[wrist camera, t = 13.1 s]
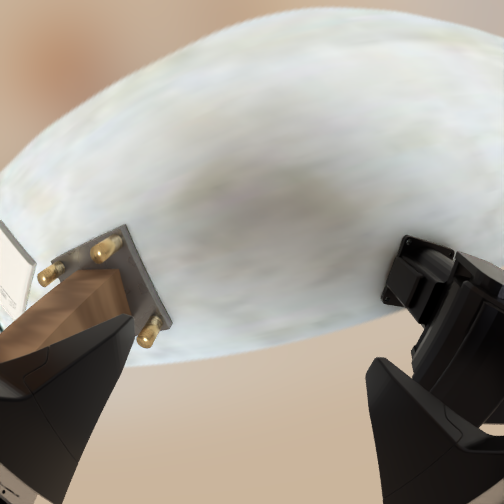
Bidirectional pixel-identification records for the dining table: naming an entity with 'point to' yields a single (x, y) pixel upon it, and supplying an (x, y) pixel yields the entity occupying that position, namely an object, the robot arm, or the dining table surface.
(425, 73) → the dining table surface
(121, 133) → the dining table surface
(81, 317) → the walnut post
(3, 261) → the external hard drive
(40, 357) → the robot arm
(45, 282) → the plate
